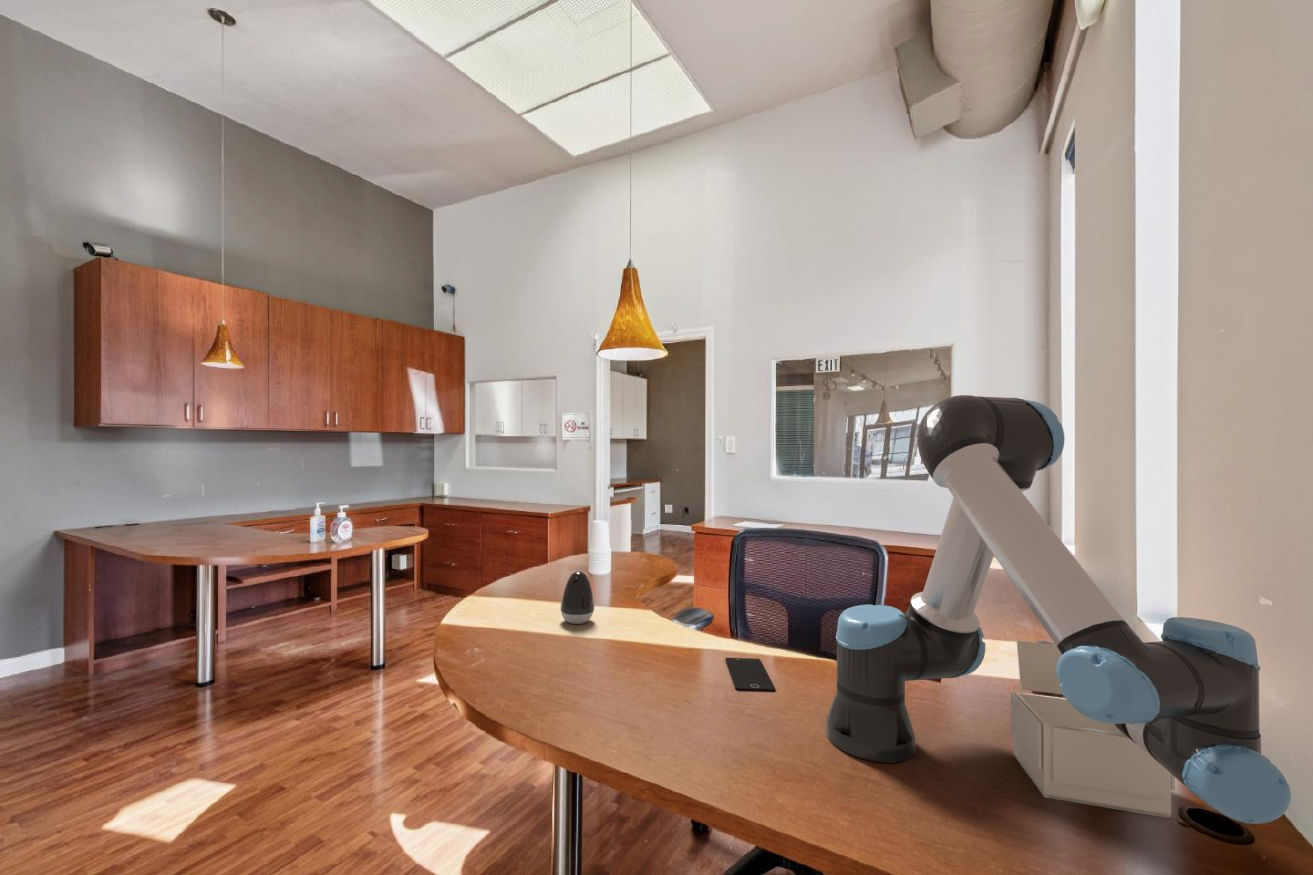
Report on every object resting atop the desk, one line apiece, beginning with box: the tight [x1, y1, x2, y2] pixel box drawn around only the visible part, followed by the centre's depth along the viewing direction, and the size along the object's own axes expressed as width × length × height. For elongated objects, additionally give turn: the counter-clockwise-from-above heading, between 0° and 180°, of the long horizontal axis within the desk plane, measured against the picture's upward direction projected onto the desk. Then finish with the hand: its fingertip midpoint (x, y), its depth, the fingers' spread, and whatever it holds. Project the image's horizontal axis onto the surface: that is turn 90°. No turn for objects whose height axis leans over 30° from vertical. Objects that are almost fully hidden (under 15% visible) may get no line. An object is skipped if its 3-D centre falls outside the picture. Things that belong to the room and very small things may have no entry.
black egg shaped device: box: [560, 570, 595, 625], centre depth 162 cm, size 10×10×15 cm
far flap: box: [1016, 640, 1063, 694], centre depth 93 cm, size 14×8×1 cm
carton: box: [1010, 691, 1176, 819], centre depth 85 cm, size 17×13×11 cm
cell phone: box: [724, 657, 777, 693], centre depth 126 cm, size 9×18×1 cm, turn 0°
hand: (1071, 660), depth 92 cm, fingers closed
